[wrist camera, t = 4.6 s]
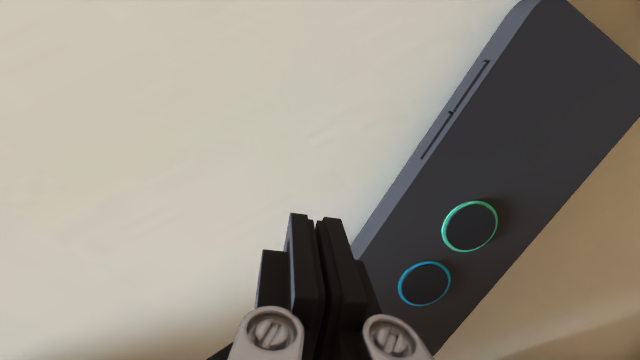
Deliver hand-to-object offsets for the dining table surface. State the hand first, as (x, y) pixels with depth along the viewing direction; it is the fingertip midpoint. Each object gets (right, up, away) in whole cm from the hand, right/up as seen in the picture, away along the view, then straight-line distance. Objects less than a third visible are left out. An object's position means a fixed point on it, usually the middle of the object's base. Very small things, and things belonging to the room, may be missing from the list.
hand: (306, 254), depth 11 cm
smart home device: (+8, +1, +8) cm, 11 cm away
